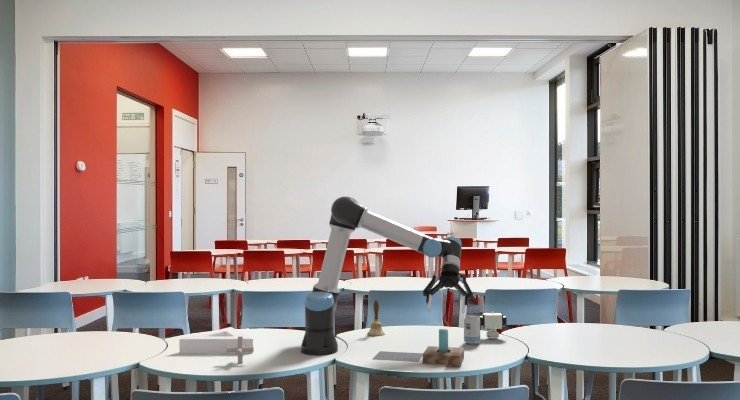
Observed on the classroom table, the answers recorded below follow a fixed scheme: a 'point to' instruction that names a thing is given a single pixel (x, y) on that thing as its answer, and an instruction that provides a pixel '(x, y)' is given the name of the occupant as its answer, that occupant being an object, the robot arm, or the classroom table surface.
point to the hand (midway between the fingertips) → (445, 310)
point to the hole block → (444, 356)
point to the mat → (398, 356)
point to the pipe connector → (240, 349)
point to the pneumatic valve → (492, 323)
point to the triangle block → (214, 341)
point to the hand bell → (376, 323)
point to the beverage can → (472, 329)
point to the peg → (443, 340)
